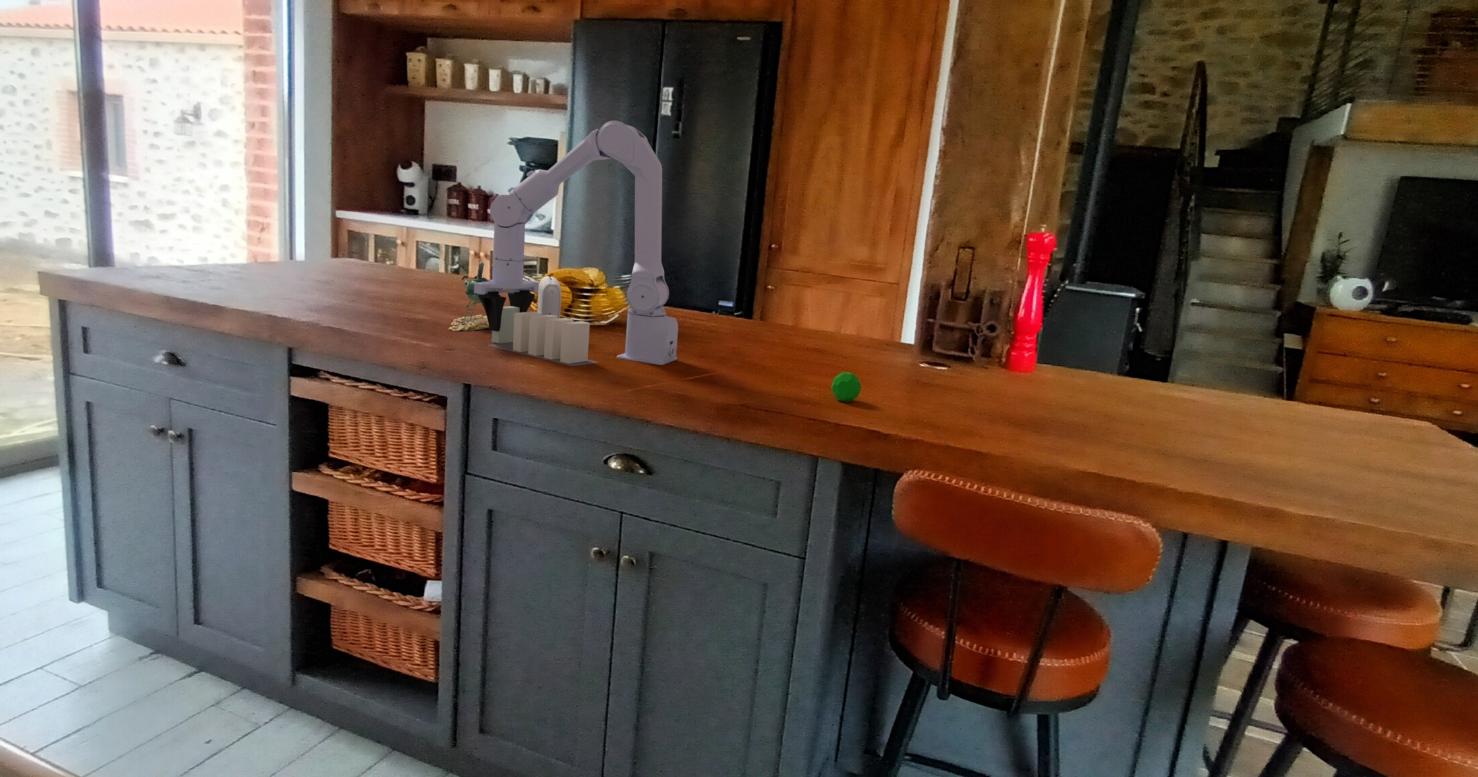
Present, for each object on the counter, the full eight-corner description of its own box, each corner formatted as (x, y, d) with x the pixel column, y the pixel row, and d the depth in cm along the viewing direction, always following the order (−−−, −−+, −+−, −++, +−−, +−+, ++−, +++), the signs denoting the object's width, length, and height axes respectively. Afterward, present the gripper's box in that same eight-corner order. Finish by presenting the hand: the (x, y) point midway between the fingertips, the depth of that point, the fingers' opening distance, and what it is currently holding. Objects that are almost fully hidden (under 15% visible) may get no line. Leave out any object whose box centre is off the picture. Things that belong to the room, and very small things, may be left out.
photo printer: (560, 340, 179) (563, 280, 177) (539, 339, 178) (541, 278, 175) (555, 331, 189) (558, 274, 186) (535, 330, 187) (537, 273, 185)
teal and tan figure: (526, 326, 192) (525, 260, 187) (469, 344, 176) (466, 272, 172) (492, 320, 196) (490, 254, 191) (433, 336, 180) (429, 265, 175)
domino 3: (571, 357, 161) (573, 319, 160) (551, 359, 157) (554, 321, 156) (563, 355, 162) (565, 317, 161) (543, 357, 158) (545, 319, 157)
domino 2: (555, 353, 163) (557, 316, 162) (536, 355, 159) (537, 317, 158) (547, 351, 164) (549, 314, 163) (528, 353, 160) (529, 316, 159)
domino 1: (540, 349, 165) (541, 313, 164) (520, 352, 161) (522, 314, 160) (532, 347, 166) (534, 311, 165) (512, 350, 162) (514, 313, 161)
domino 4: (587, 360, 159) (589, 322, 158) (568, 363, 155) (570, 324, 153) (579, 358, 160) (581, 321, 159) (560, 361, 156) (562, 323, 154)
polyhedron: (836, 403, 146) (839, 375, 145) (825, 396, 150) (829, 369, 149) (863, 404, 147) (867, 376, 146) (852, 397, 152) (855, 370, 151)
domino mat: (599, 363, 159) (599, 362, 159) (572, 367, 153) (572, 366, 153) (514, 343, 170) (514, 342, 170) (486, 346, 164) (486, 345, 164)
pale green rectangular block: (518, 342, 172) (519, 307, 170) (498, 344, 168) (500, 308, 166) (511, 341, 173) (512, 306, 171) (491, 343, 169) (493, 307, 167)
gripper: (521, 257, 175) (518, 324, 178) (463, 257, 163) (461, 328, 166) (547, 261, 171) (543, 329, 174) (490, 261, 159) (487, 334, 162)
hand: (505, 329), depth 170 cm, fingers closed on pale green rectangular block, 5 cm apart
